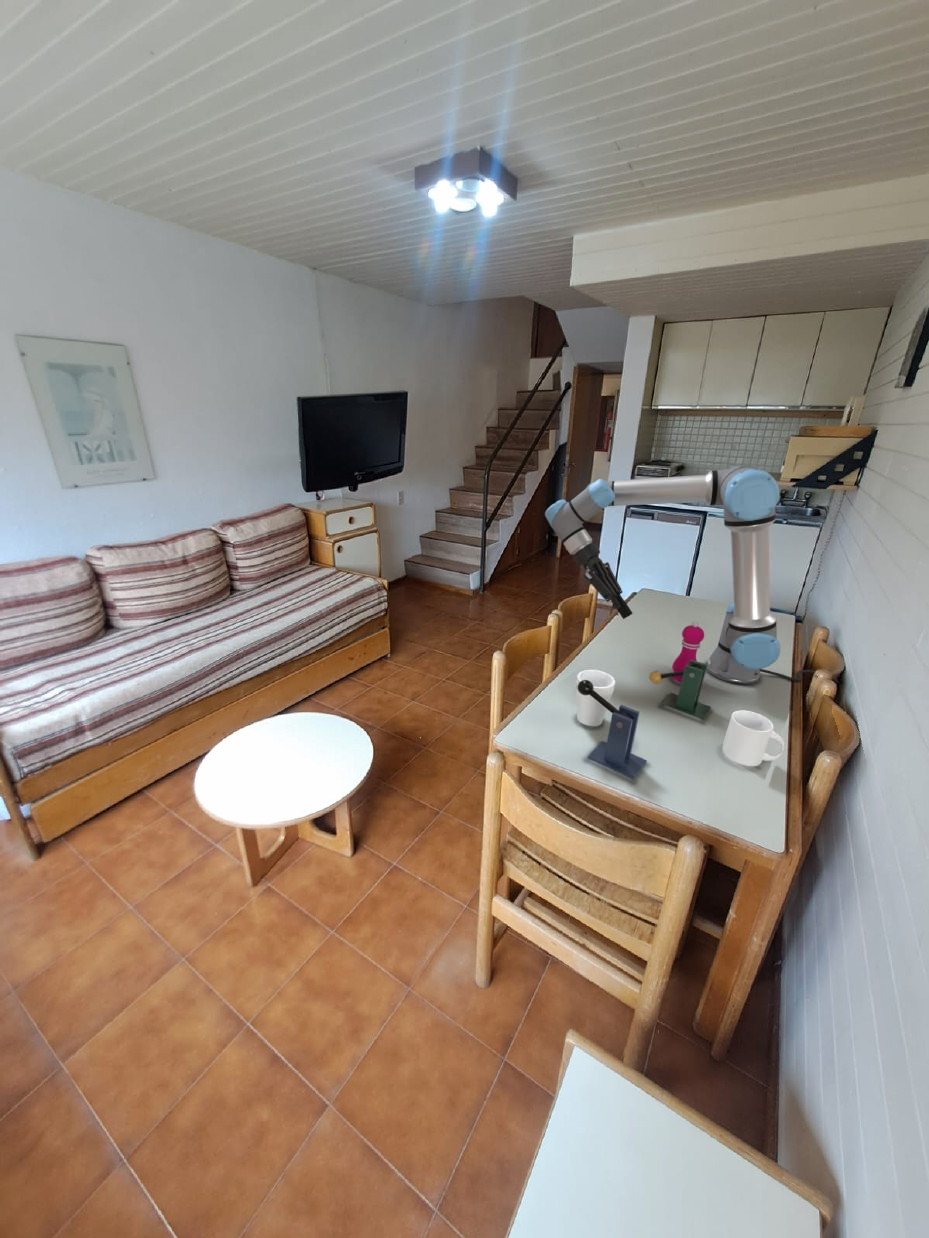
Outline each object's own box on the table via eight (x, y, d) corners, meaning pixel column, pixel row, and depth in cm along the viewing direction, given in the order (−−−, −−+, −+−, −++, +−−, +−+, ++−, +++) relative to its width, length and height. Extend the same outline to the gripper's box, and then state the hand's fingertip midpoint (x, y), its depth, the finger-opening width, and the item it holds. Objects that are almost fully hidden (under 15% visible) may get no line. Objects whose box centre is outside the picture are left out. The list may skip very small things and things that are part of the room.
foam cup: (579, 733, 125) (586, 689, 120) (565, 713, 133) (571, 671, 128) (614, 730, 127) (622, 686, 122) (597, 710, 135) (604, 668, 130)
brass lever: (649, 686, 140) (645, 674, 140) (654, 681, 143) (650, 670, 142) (700, 679, 130) (695, 666, 130) (704, 674, 133) (699, 661, 133)
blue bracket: (587, 760, 115) (595, 710, 110) (601, 744, 121) (610, 696, 116) (632, 782, 109) (643, 730, 103) (645, 764, 115) (656, 714, 109)
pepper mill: (690, 676, 155) (704, 617, 147) (698, 688, 148) (713, 627, 140) (666, 674, 155) (679, 616, 147) (673, 686, 148) (687, 625, 141)
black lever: (572, 690, 115) (579, 680, 113) (579, 684, 117) (586, 674, 115) (622, 732, 109) (631, 722, 107) (628, 725, 112) (637, 715, 110)
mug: (777, 780, 111) (791, 741, 107) (719, 761, 116) (730, 723, 112) (776, 758, 118) (790, 721, 114) (721, 742, 123) (732, 706, 119)
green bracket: (660, 707, 137) (670, 663, 132) (670, 696, 143) (680, 653, 138) (702, 722, 131) (714, 677, 126) (710, 710, 137) (722, 666, 131)
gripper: (583, 551, 151) (626, 616, 148) (562, 560, 142) (608, 628, 139) (601, 537, 146) (647, 604, 143) (581, 545, 137) (629, 616, 134)
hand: (628, 616), depth 141 cm, fingers closed
